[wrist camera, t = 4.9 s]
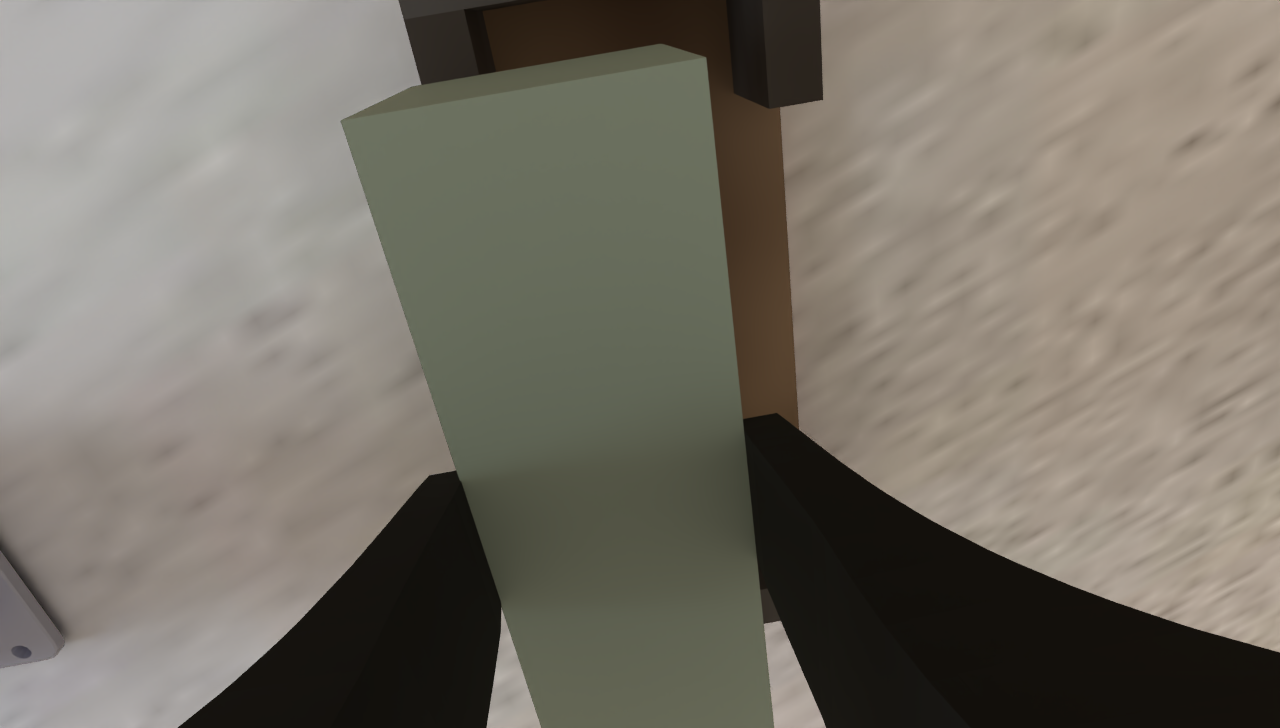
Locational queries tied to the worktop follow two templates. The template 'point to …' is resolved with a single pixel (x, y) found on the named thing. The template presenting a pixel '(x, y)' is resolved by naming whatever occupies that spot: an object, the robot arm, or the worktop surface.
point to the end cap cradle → (742, 122)
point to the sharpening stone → (585, 372)
